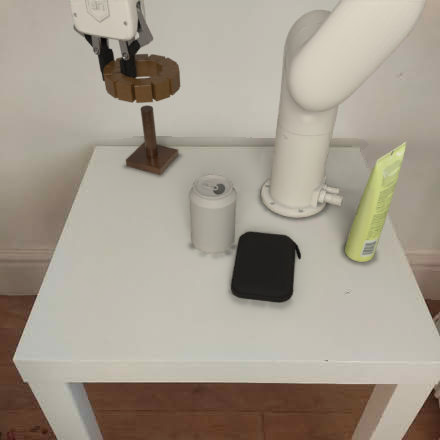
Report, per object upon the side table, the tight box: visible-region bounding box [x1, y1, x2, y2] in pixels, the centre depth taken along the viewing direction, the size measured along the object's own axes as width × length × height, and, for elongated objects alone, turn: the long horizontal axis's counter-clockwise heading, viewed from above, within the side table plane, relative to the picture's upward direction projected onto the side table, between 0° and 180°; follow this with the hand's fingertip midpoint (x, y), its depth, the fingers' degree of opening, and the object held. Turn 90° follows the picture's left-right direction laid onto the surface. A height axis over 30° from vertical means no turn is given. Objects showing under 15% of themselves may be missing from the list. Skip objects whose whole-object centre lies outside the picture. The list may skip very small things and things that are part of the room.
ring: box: [103, 53, 181, 104], centre depth 71 cm, size 12×12×3 cm
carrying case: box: [230, 230, 302, 304], centre depth 73 cm, size 11×3×15 cm
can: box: [188, 174, 237, 255], centre depth 75 cm, size 8×8×12 cm
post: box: [125, 104, 179, 176], centre depth 91 cm, size 8×8×12 cm
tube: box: [344, 141, 408, 263], centre depth 71 cm, size 6×5×20 cm
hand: (119, 79), depth 73 cm, fingers closed on ring, 3 cm apart
